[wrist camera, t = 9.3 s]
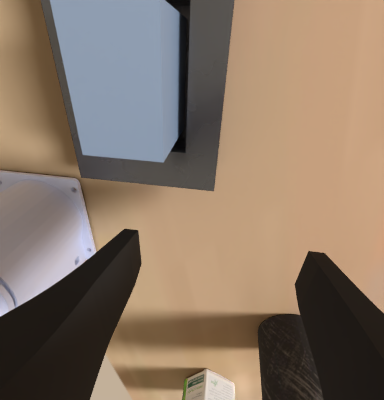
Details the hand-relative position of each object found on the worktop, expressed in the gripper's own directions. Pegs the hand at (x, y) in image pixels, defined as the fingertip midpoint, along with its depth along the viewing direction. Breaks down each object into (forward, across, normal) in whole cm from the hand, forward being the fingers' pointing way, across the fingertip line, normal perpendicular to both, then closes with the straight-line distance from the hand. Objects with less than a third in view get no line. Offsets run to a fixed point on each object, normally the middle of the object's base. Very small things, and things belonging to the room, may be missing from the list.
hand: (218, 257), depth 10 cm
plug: (+9, +5, -6) cm, 12 cm away
